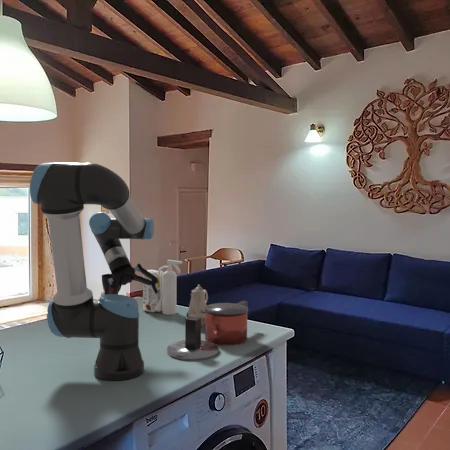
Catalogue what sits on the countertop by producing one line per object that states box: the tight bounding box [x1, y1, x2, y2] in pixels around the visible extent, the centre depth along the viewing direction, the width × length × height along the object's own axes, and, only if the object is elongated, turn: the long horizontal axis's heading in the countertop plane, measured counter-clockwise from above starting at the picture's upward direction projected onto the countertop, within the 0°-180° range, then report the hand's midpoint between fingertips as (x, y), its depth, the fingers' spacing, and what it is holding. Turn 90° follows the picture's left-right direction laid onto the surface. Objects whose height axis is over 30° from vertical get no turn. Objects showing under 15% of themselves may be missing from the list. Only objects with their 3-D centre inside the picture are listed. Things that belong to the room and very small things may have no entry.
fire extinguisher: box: [154, 259, 183, 316], centre depth 220 cm, size 7×12×25 cm, turn 90°
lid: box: [166, 317, 220, 361], centre depth 166 cm, size 18×18×12 cm
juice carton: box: [142, 269, 164, 313], centre depth 225 cm, size 8×9×19 cm
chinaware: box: [186, 284, 209, 330], centre depth 206 cm, size 28×17×17 cm, turn 155°
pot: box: [204, 300, 249, 346], centre depth 186 cm, size 27×17×12 cm, turn 155°
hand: (139, 310), depth 164 cm, fingers open, 13 cm apart
